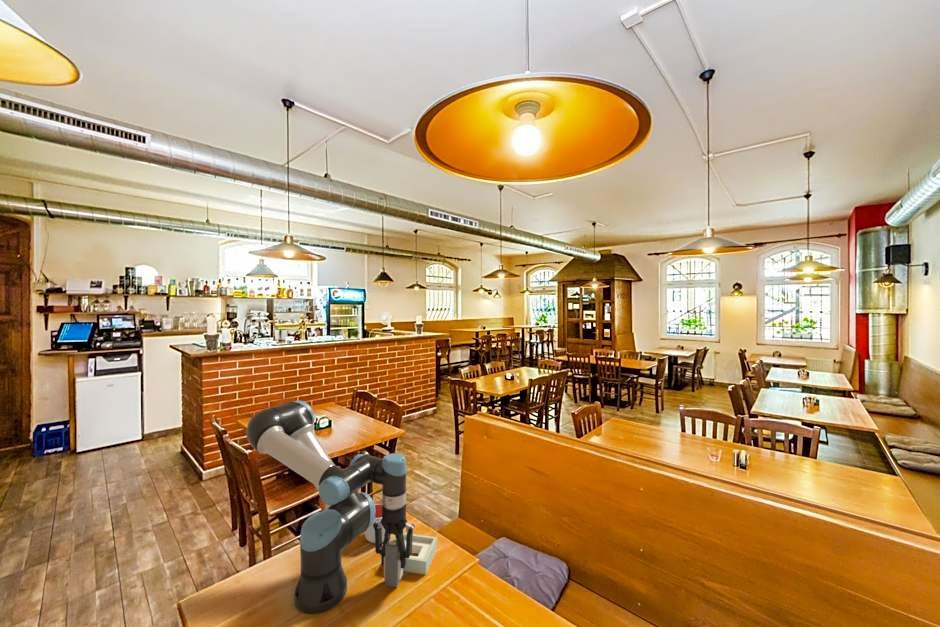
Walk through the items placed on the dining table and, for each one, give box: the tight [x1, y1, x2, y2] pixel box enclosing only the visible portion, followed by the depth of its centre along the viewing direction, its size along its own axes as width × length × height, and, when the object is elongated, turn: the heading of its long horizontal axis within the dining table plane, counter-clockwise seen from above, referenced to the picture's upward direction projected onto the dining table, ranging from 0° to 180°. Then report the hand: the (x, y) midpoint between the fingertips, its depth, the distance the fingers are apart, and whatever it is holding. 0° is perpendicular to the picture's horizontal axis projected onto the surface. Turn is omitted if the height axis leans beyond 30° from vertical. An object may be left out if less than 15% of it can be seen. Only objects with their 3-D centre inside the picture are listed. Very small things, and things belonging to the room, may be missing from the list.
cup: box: [364, 503, 385, 544], centre depth 145 cm, size 10×10×10 cm
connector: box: [384, 536, 403, 589], centre depth 121 cm, size 4×4×14 cm
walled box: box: [403, 532, 438, 576], centre depth 133 cm, size 14×13×4 cm
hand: (393, 575), depth 121 cm, fingers closed on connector, 4 cm apart
